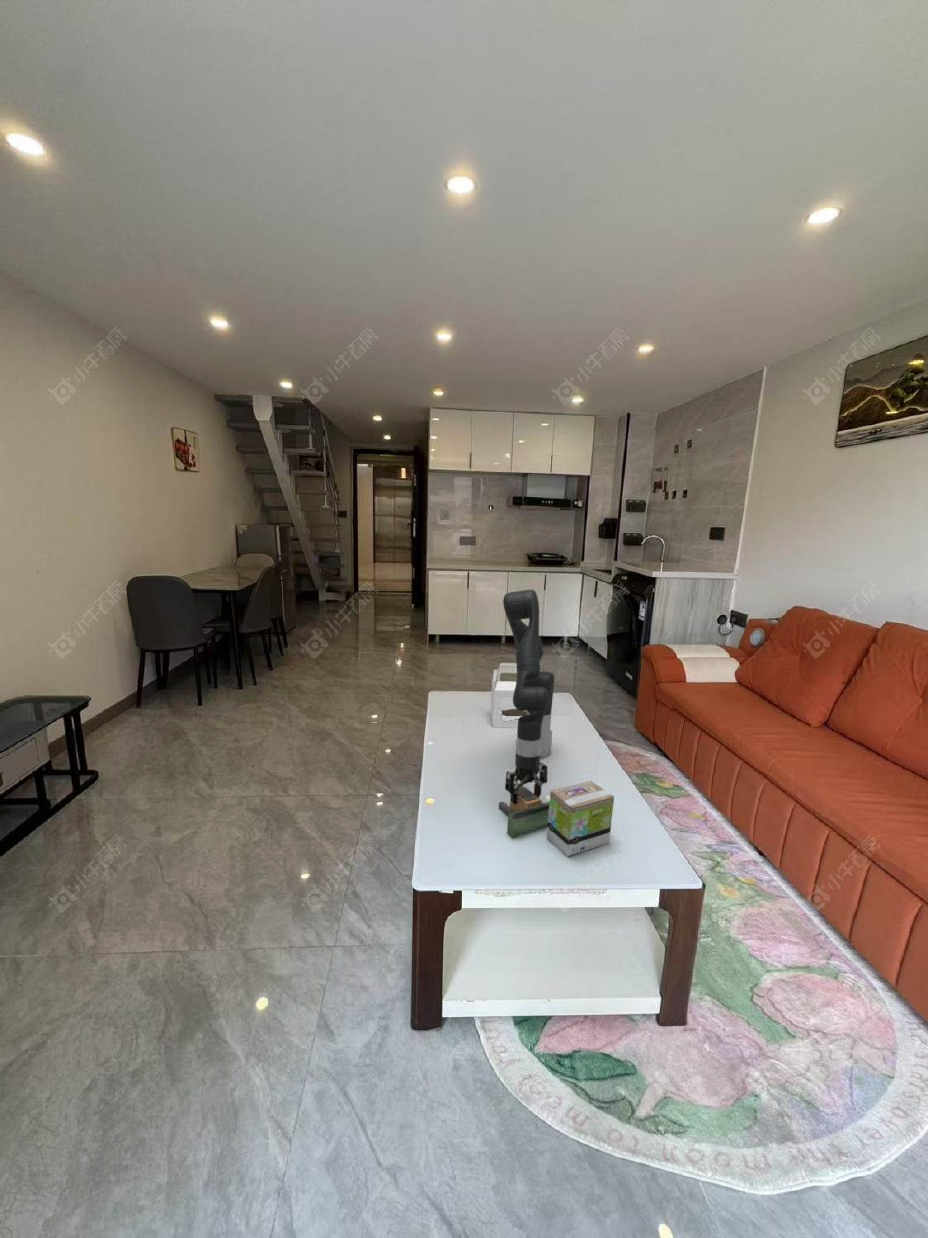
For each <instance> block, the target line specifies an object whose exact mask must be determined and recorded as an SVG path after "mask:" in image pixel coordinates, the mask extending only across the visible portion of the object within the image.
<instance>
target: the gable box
mask: <svg viewBox="0 0 928 1238" xmlns="http://www.w3.org/2000/svg"><path fill="white" fill-rule="evenodd" d="M540 671H543V670H542V669H540ZM492 673H493V675H492V680H491V694H490V695H491V698H490V699H491V700H490V720H491V719H492V722H491V726H492V725H493V727H505V728H504V729H518V720H519V719H515V720H510V721H503V720H502V718H501V717H502V715H505V716H525V715H527V711H520V710H518V709H516V708H510V709H504V710H503V709H502V707H501V700H502V699H504V698H512V699H513V695H514V691H515V687H516V681H517V680H500V679H501V674H517V665H516V662H500V663H499V666H498V668H497V669H493V672H492ZM493 727H492V728H493Z"/></svg>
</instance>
